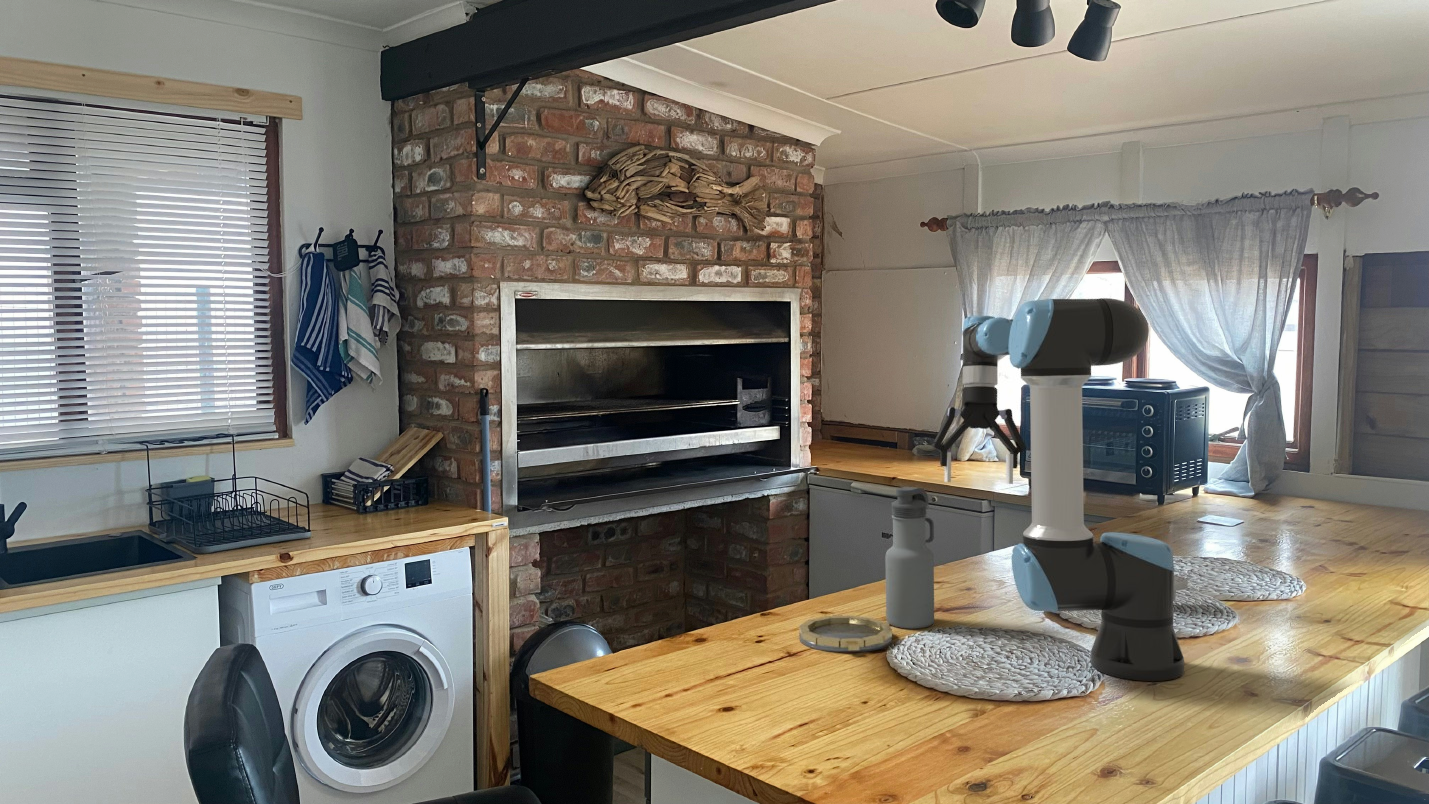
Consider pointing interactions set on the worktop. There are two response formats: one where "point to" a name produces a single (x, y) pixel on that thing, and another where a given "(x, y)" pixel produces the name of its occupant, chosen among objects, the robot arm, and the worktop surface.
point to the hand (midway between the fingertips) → (978, 483)
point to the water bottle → (910, 563)
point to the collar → (845, 634)
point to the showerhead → (1179, 584)
